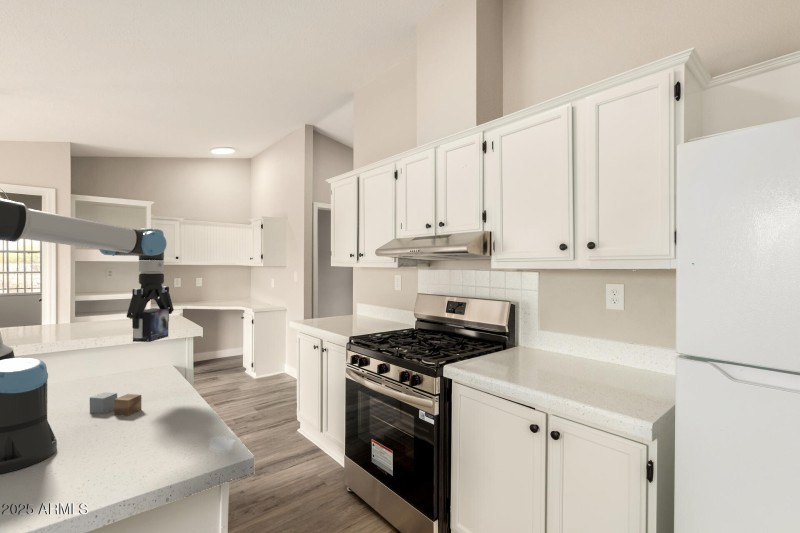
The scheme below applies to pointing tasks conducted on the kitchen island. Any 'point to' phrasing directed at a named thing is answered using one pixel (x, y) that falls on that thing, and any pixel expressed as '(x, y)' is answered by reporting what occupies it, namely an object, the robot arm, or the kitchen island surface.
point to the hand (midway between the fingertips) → (151, 334)
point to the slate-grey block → (102, 403)
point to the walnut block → (127, 404)
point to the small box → (153, 325)
